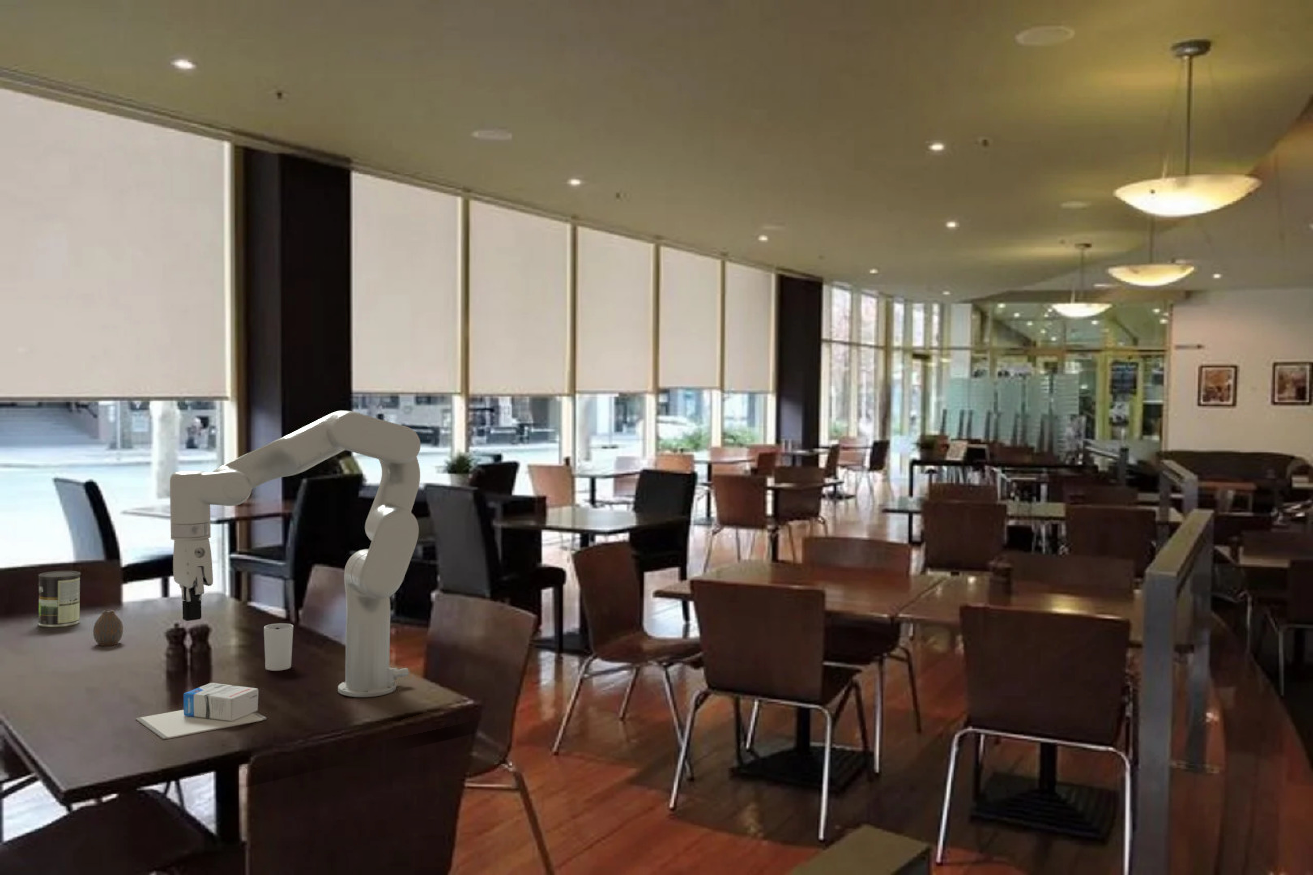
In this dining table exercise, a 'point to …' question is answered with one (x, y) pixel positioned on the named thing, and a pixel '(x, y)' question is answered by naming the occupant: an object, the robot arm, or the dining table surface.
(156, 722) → the mat
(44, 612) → the coffee can
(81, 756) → the dining table surface
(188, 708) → the ink box
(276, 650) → the white cup
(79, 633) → the dining table surface
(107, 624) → the vase
